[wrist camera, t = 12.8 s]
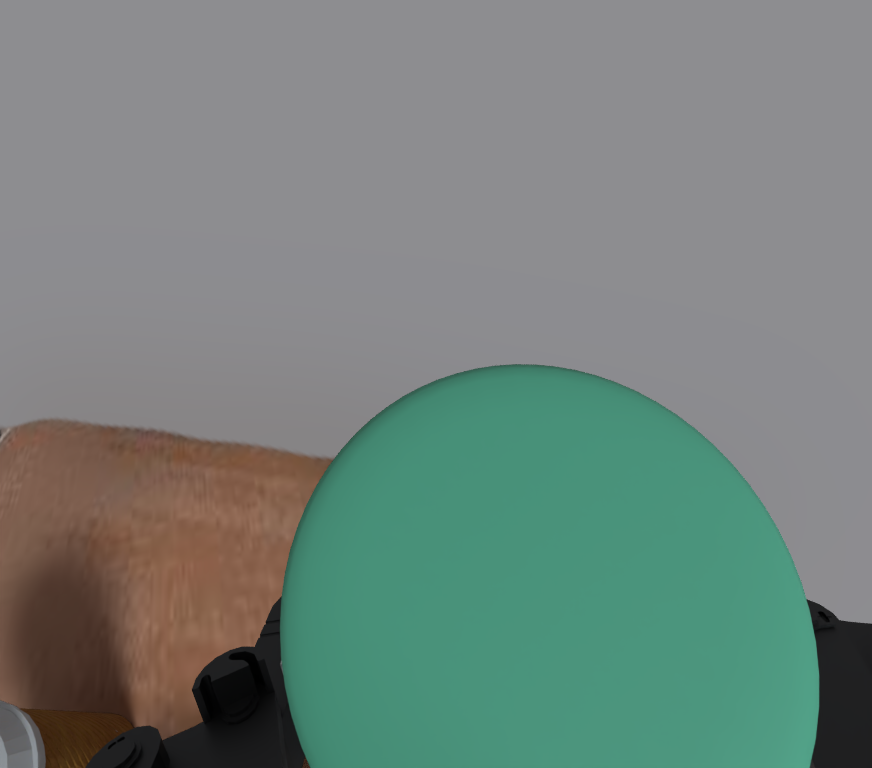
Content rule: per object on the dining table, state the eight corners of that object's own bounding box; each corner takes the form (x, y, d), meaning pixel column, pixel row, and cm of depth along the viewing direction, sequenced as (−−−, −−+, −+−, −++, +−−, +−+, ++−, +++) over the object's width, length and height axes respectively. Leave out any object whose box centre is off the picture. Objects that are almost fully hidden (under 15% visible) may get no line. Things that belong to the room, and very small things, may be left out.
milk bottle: (393, 717, 20) (-190, 1097, 3) (433, 536, 24) (283, 222, 6) (578, 771, 19) (1719, 2282, 1) (590, 569, 22) (941, 277, 5)
